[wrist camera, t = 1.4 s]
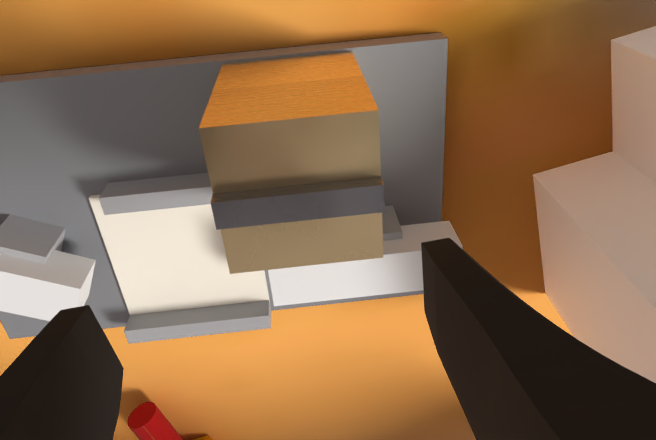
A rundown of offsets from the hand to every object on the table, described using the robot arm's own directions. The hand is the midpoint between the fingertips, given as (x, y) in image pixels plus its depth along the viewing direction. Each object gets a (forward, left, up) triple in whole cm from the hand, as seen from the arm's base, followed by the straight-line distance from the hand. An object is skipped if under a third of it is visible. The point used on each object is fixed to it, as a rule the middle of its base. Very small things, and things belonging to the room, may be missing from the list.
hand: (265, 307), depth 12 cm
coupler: (-1, -1, -9) cm, 9 cm away
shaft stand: (+3, +2, -10) cm, 11 cm away
